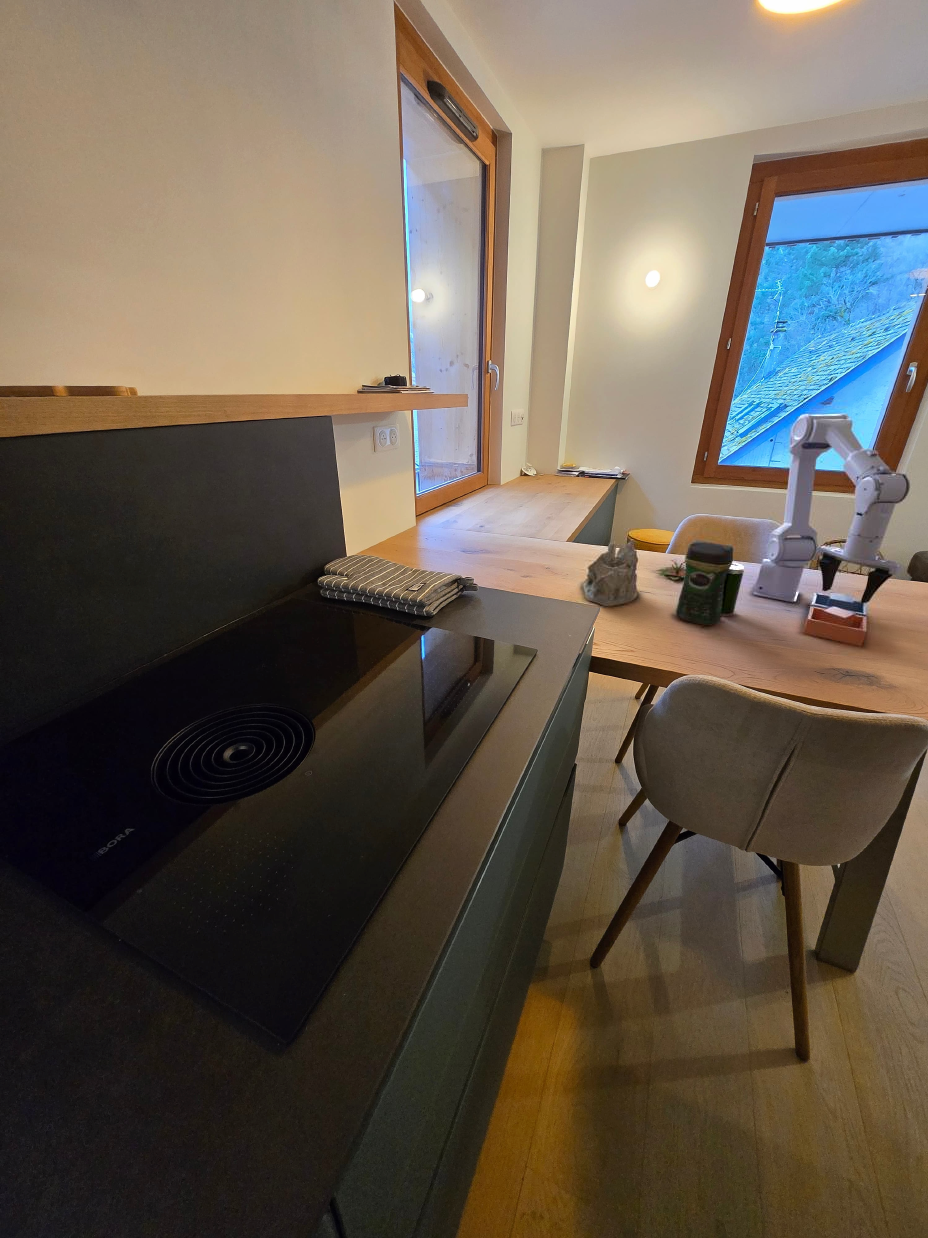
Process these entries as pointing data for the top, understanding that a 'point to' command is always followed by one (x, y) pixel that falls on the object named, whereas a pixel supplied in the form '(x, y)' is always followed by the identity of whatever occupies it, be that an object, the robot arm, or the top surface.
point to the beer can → (731, 589)
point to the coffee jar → (704, 582)
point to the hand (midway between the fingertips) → (845, 595)
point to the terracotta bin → (835, 628)
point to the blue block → (840, 601)
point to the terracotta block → (838, 616)
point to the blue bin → (821, 602)
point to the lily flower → (674, 571)
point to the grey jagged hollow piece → (613, 576)
